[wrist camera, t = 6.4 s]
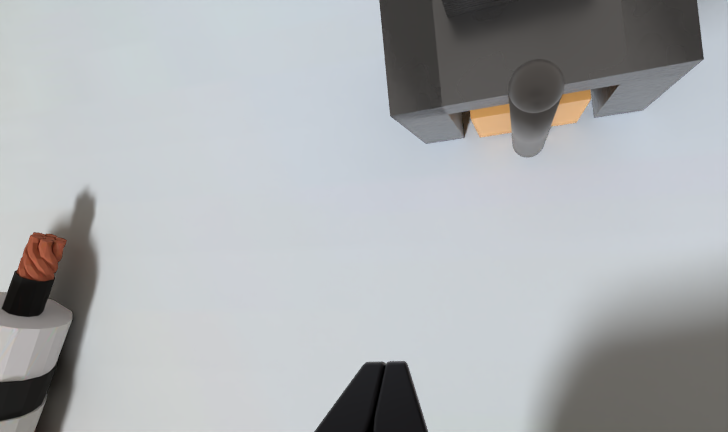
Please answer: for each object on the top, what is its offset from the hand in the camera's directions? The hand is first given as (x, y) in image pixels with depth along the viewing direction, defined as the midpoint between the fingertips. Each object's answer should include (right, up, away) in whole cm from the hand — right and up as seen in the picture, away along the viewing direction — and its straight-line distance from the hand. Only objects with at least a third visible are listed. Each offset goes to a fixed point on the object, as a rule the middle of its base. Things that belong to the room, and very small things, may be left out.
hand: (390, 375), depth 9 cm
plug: (+7, +10, +13) cm, 17 cm away
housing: (+7, +10, +13) cm, 18 cm away
